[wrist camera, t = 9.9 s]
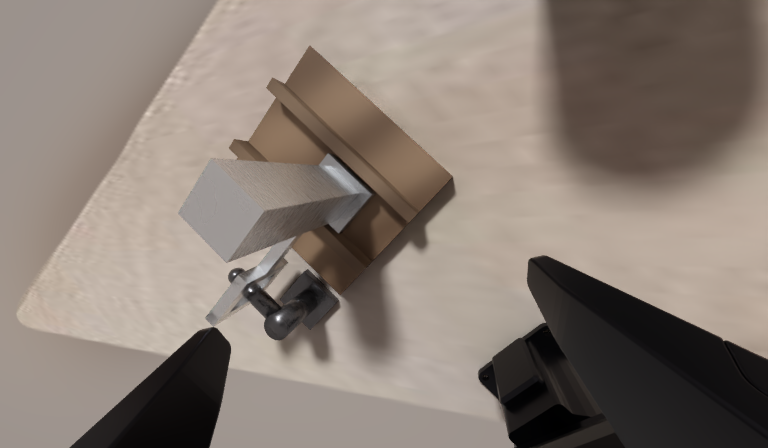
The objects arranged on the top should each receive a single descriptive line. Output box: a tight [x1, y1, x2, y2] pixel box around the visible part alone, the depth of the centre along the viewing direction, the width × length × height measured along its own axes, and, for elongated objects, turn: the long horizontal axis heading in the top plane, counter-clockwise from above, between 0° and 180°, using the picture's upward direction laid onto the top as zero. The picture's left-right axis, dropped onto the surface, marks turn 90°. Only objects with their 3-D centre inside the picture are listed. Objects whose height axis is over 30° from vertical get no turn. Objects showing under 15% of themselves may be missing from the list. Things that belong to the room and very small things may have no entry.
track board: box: [229, 46, 453, 295], centre depth 20 cm, size 13×12×3 cm
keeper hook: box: [228, 268, 338, 340], centre depth 21 cm, size 7×4×5 cm, turn 48°
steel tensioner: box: [178, 153, 376, 327], centre depth 16 cm, size 4×13×10 cm, turn 138°
